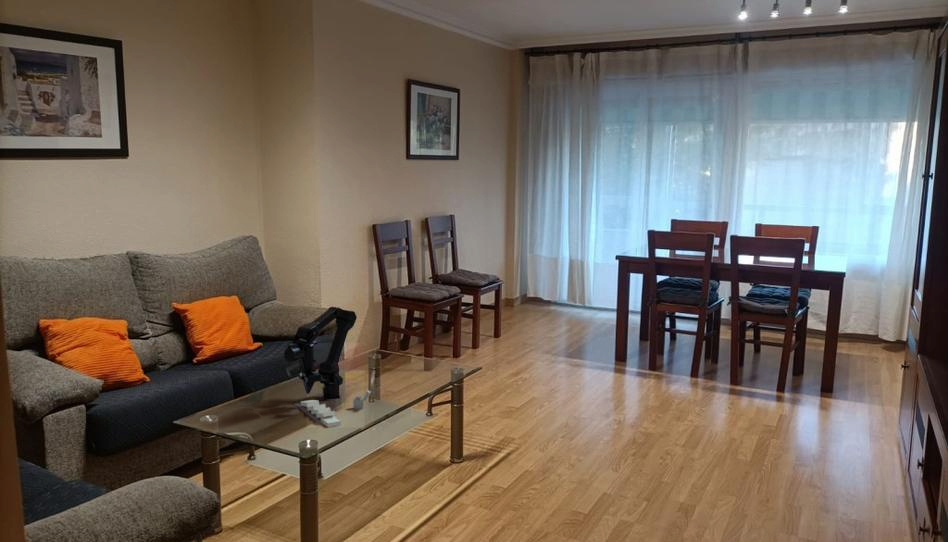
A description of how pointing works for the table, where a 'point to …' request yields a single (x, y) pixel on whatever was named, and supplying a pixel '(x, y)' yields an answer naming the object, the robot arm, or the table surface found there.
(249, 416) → the table surface
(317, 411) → the tile
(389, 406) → the table surface
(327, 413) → the tile
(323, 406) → the tile
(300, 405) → the runner
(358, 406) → the lighter
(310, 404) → the tile
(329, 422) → the tile
